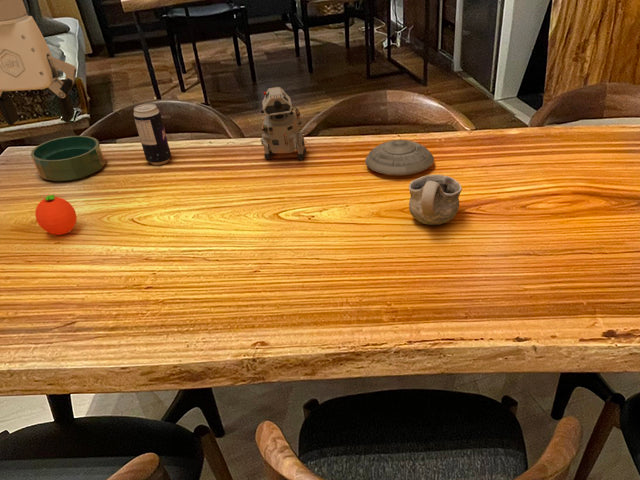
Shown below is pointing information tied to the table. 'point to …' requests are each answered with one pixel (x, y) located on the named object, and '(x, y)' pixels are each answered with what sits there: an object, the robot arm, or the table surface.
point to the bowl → (68, 158)
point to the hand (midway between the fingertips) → (41, 121)
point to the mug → (434, 199)
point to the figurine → (281, 125)
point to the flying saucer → (399, 158)
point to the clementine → (55, 215)
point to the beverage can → (152, 134)
